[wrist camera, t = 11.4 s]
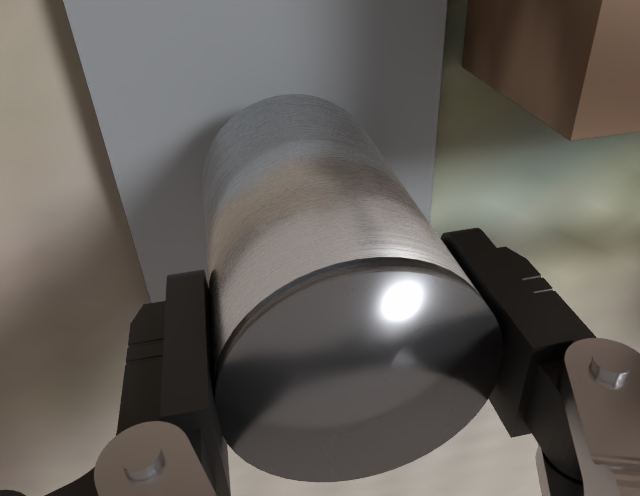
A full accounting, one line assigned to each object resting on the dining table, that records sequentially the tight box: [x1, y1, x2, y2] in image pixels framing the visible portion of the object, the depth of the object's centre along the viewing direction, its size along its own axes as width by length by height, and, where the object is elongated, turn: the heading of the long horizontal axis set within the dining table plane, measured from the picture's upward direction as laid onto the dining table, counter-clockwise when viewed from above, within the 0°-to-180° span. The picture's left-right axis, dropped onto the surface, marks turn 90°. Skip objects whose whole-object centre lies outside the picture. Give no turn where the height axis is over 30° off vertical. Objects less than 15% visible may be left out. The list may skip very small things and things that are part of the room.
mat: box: [63, 0, 447, 303], centre depth 17 cm, size 11×10×1 cm
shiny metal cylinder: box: [203, 94, 504, 482], centre depth 12 cm, size 5×5×8 cm
